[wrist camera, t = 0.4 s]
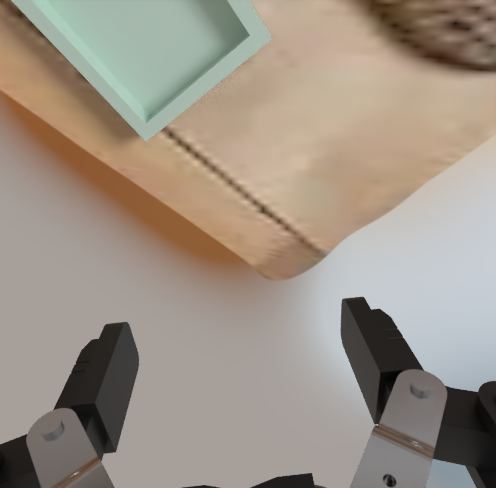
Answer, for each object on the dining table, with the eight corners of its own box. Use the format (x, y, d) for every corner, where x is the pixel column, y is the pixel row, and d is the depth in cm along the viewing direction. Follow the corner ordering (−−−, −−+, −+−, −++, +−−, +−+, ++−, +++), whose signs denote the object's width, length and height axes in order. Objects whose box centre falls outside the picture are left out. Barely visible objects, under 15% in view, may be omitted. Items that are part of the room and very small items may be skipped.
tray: (25, -8, 29) (6, -5, 27) (148, -162, 24) (137, -175, 22) (152, 129, 36) (146, 142, 34) (270, 33, 31) (271, 39, 29)
